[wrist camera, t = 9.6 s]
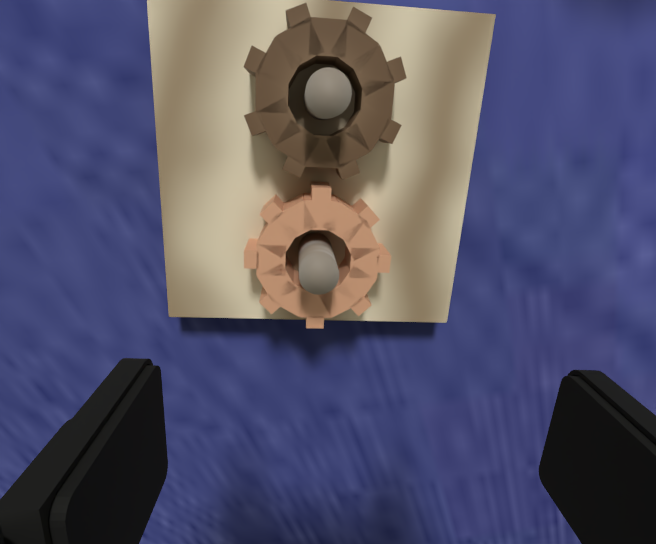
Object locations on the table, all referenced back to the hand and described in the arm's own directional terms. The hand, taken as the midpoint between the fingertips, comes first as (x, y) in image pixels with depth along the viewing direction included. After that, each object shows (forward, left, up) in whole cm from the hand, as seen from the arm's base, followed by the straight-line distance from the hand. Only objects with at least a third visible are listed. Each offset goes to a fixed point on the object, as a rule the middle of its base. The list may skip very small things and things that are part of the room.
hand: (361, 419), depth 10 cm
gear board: (+1, -4, -16) cm, 17 cm away
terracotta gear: (0, 0, -14) cm, 14 cm away
